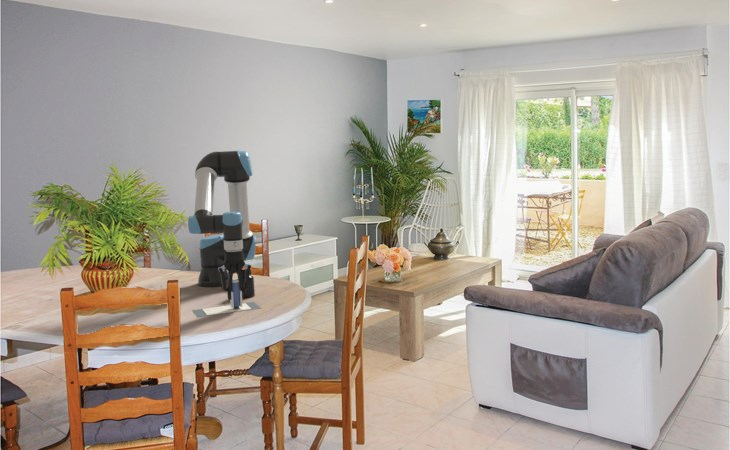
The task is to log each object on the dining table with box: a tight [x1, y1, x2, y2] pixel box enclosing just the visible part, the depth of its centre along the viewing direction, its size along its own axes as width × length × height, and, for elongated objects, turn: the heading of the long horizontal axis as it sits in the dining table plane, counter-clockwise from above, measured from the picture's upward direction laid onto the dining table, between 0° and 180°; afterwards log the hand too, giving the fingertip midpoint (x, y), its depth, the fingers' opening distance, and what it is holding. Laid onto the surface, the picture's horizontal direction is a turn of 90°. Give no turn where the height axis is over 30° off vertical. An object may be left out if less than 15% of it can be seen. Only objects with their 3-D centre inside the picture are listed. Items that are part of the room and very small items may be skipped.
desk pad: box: [191, 301, 262, 319], centre depth 259 cm, size 12×26×1 cm, turn 115°
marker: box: [231, 278, 240, 309], centre depth 258 cm, size 3×3×12 cm
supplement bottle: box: [239, 269, 256, 299], centre depth 279 cm, size 7×7×12 cm
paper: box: [201, 302, 251, 316], centre depth 259 cm, size 10×18×1 cm, turn 115°
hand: (236, 306), depth 259 cm, fingers closed on marker, 3 cm apart
